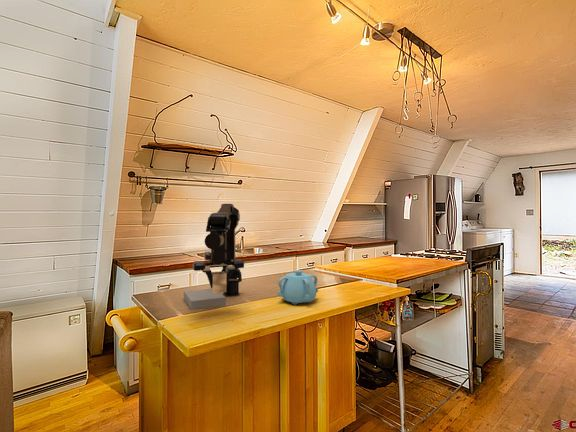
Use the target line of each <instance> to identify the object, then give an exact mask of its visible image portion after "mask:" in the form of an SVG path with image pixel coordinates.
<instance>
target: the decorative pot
mask: <svg viewBox="0 0 576 432" xmlns="http://www.w3.org/2000/svg"><path fill="white" fill-rule="evenodd" d="M313 278H314V280H313ZM317 285H318V277H317V276H316V275H314V274H309V273H305V272H303V270H302V269H301V270H300V269H296V270H294V272H290V273H286V275H285V276H282V277H281V278H279V280H278V287H279V290H278V292H277V296H278V297H280V298H283V299H284V301H287V302H288V303H291V305H298V304H302V303H305V304H306V303H307V304H311V303H312V302H313V301H314V300H315V299H316V297H317V293H318V292H319V289H318V287H317Z"/></svg>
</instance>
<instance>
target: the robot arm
mask: <svg viewBox="0 0 576 432" xmlns="http://www.w3.org/2000/svg"><path fill="white" fill-rule="evenodd" d="M240 219H241V214H240V211H239V209H238V208H236V207H235V205H234V204H233V203H221V205H220V208H219V209H218V211H217V212H212V213H210V215H209V216H208V218H207V223H206V228H205V232H206V233H208V234H207V235H206V237H205V238H204V244H205V246H206V248H208V249H210V251H204V260H196V261H195V260H194V261H193V262H192V270H193V271H194V272H195V271H202V273H205V275H206V277H207V280H208V283H209V286H210V289H211V288H212V273H211V272H212V270H211V268H222V269H221V271H220V272H225V273H226V292H222V294H224V296H225V297H231V296H232V297H233V296H240V293H239V289H240V288H239V286H240V284H239V283H240V282H243V278H242V275H243V274H242V272H241V269H244V268H245V261H244V260H243V259H241V258H236V229H237V227H238V226H239V222H240V221H241V220H240ZM205 261H209V262H205Z"/></svg>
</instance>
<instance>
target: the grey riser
mask: <svg viewBox="0 0 576 432" xmlns="http://www.w3.org/2000/svg"><path fill="white" fill-rule="evenodd" d="M226 298H227V296H225V294H224V295H223V293H212V291H211V288H203V289H202V288H201V289H193V290H184V291H183V300H184V302H185V303H186V305H187V307H189V308H188V309H190V311H195V310H202V309H204V310H205V309H210V308H217V307H218V308H219V307H225V306H226V303H227V302H226Z"/></svg>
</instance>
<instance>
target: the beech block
mask: <svg viewBox="0 0 576 432" xmlns="http://www.w3.org/2000/svg"><path fill="white" fill-rule="evenodd" d="M211 273H212V288H211V287H210V289H211V291H212V293H221V294H223V292H226V273H225V272H221V271H211Z"/></svg>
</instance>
